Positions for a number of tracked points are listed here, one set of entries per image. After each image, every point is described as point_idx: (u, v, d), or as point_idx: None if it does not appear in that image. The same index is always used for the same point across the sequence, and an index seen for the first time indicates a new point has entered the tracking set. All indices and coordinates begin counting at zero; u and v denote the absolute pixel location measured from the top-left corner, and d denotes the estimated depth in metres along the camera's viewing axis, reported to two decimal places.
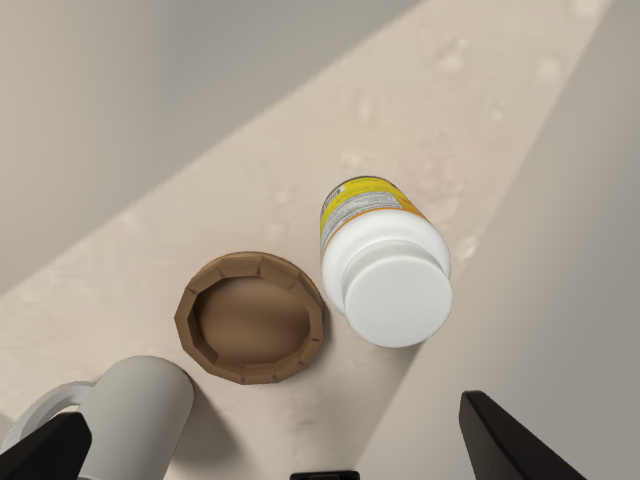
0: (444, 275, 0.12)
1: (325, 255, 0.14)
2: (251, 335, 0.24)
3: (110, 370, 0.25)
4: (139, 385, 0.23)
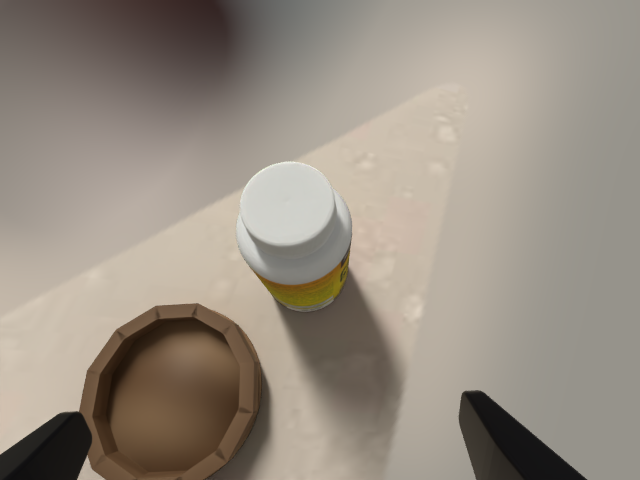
0: (323, 175, 0.14)
1: None
2: (168, 417, 0.20)
3: None
4: None
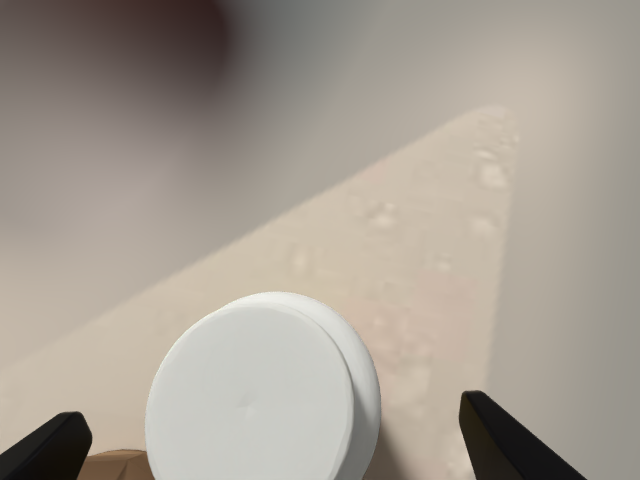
0: (328, 338, 0.07)
1: None
2: None
3: None
4: None
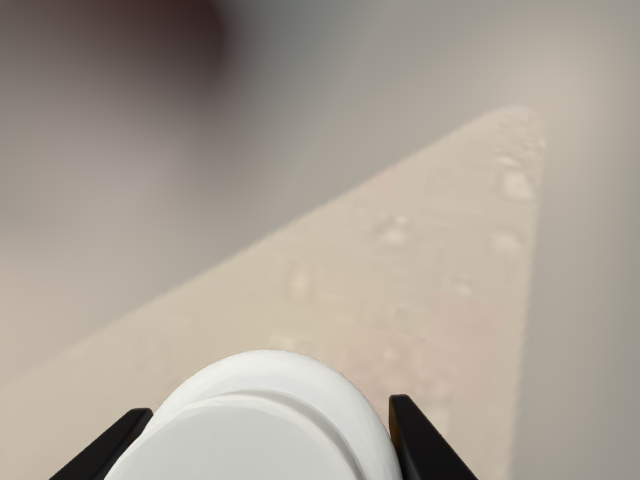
0: (340, 457, 0.05)
1: None
2: None
3: None
4: None
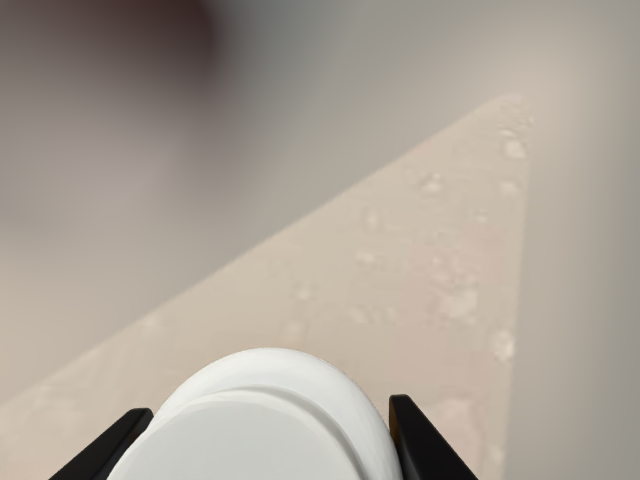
0: (341, 451, 0.05)
1: None
2: None
3: None
4: None
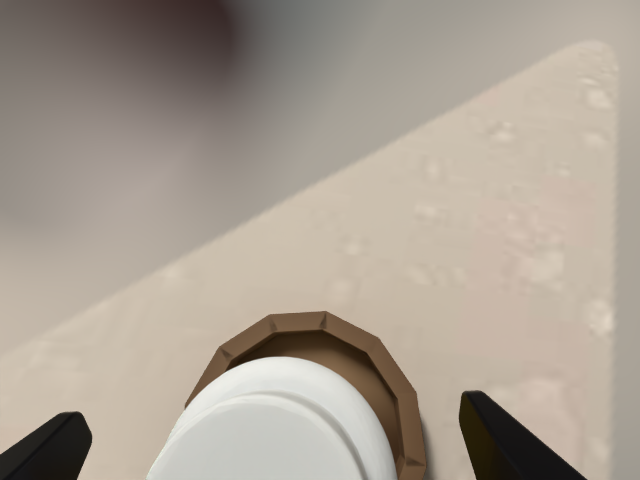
0: (342, 445, 0.06)
1: (169, 437, 0.08)
2: None
3: None
4: None
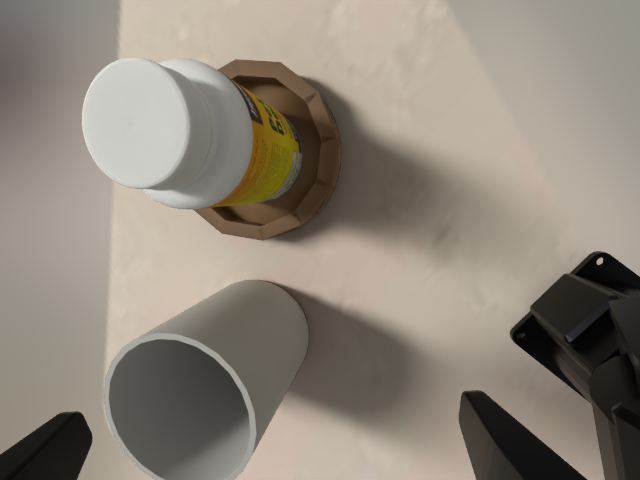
0: (131, 58, 0.10)
1: None
2: None
3: None
4: None
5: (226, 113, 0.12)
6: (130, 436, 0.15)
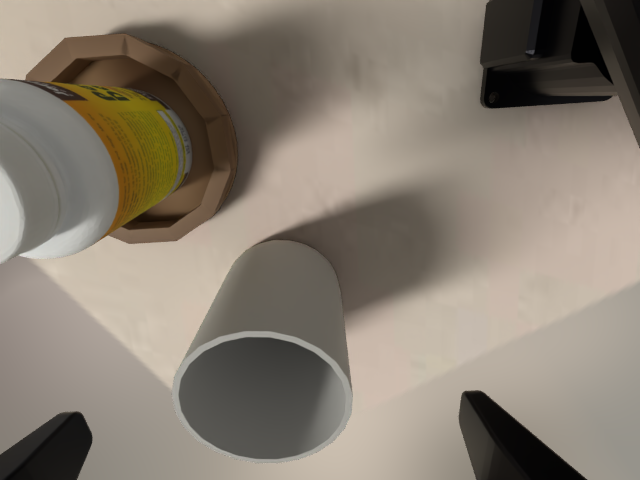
0: None
1: None
2: None
3: None
4: None
5: (27, 112, 0.09)
6: (249, 448, 0.15)
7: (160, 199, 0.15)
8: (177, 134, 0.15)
